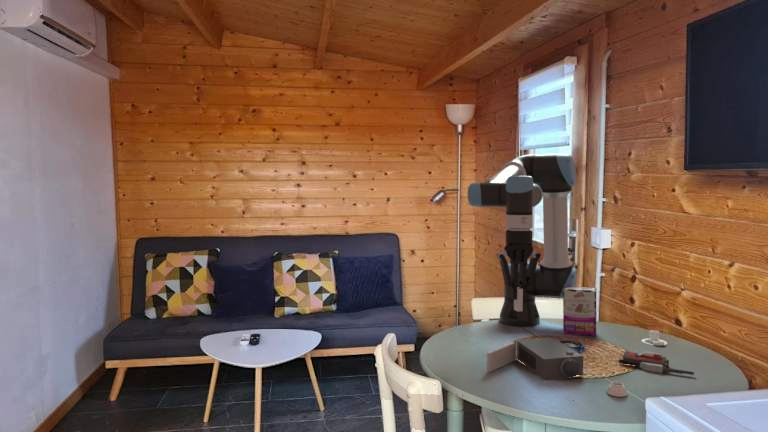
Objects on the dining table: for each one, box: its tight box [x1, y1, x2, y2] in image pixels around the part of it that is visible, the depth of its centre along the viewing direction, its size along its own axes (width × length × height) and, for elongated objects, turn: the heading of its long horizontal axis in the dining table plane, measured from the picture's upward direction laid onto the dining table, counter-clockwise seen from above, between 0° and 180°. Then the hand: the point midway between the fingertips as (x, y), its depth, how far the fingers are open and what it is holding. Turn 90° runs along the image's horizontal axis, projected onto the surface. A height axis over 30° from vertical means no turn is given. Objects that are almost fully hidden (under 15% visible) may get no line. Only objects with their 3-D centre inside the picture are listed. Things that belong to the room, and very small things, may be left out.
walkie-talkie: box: [618, 350, 695, 376], centre depth 167 cm, size 9×4×20 cm
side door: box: [486, 340, 517, 373], centre depth 170 cm, size 15×1×6 cm, turn 136°
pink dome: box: [606, 380, 629, 398], centre depth 148 cm, size 5×3×5 cm
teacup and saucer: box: [641, 329, 668, 347], centre depth 192 cm, size 9×8×4 cm
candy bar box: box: [562, 286, 597, 337], centre depth 202 cm, size 11×5×16 cm, turn 68°
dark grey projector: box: [516, 337, 584, 381], centre depth 167 cm, size 20×12×7 cm, turn 11°
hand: (518, 310), depth 165 cm, fingers closed
